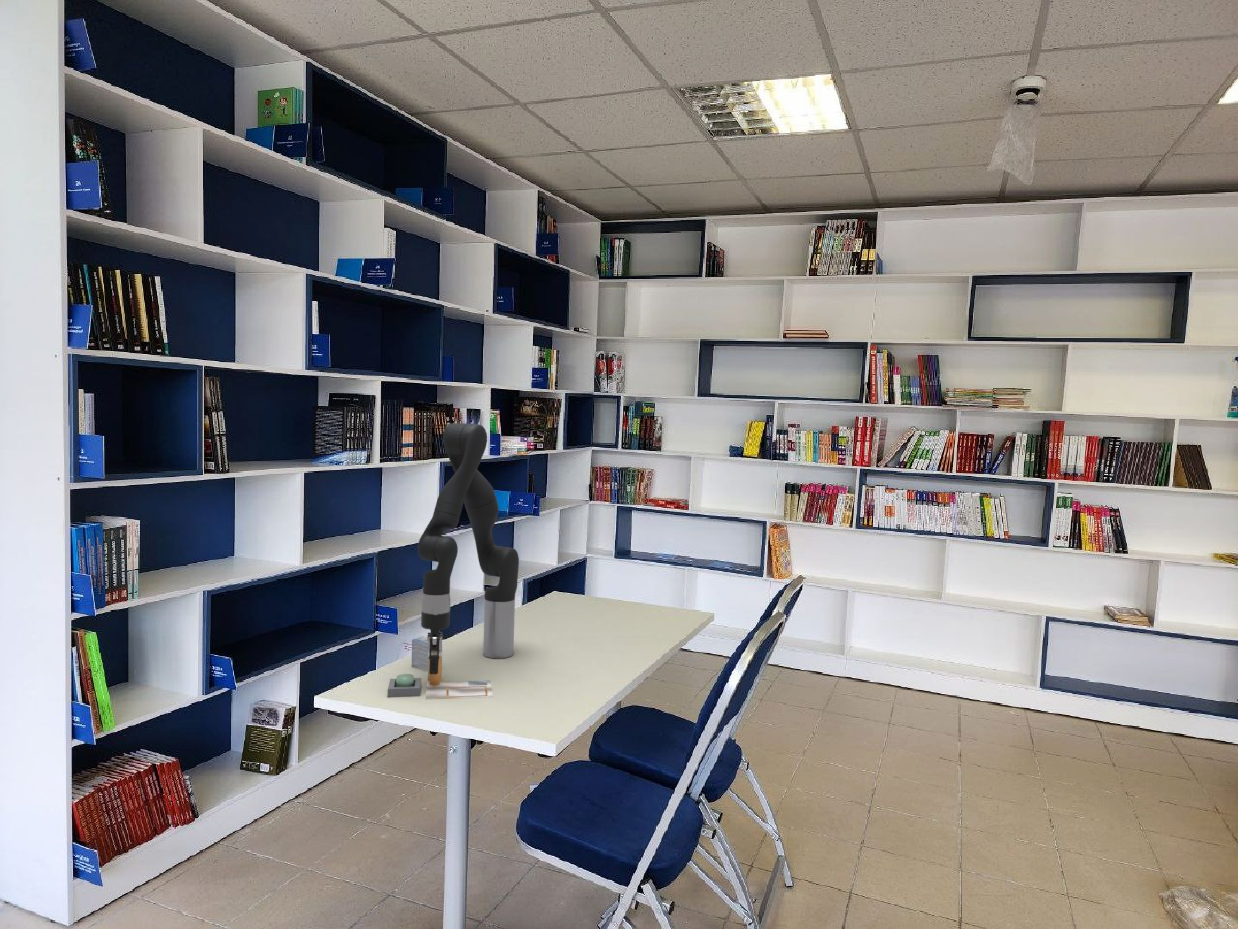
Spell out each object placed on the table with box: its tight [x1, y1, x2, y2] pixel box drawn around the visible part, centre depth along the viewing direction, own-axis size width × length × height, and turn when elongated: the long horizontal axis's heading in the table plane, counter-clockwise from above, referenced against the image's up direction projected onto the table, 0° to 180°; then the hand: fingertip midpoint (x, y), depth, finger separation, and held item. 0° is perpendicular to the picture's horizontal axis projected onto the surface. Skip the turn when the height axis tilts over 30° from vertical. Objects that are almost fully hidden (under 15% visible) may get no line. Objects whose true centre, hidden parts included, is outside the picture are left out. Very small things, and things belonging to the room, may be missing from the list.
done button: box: [395, 673, 415, 687], centre depth 210 cm, size 4×4×2 cm
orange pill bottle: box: [427, 649, 443, 685], centre depth 216 cm, size 4×4×9 cm
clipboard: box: [425, 679, 494, 700], centre depth 213 cm, size 14×19×1 cm
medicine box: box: [411, 635, 443, 672], centre depth 230 cm, size 8×4×9 cm, turn 59°
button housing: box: [387, 677, 422, 698], centre depth 210 cm, size 8×8×2 cm
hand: (434, 668), depth 216 cm, fingers open, 8 cm apart
